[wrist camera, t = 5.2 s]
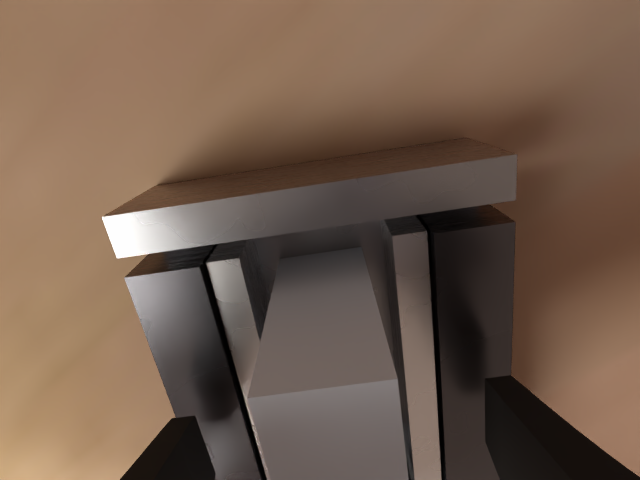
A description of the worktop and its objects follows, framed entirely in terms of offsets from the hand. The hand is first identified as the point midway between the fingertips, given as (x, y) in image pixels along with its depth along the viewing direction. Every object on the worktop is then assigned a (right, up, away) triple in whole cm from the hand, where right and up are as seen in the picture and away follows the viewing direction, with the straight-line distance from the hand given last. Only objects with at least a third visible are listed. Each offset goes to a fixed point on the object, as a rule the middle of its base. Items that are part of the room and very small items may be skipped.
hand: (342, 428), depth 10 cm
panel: (0, +1, +3) cm, 3 cm away
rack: (0, +1, +4) cm, 4 cm away
